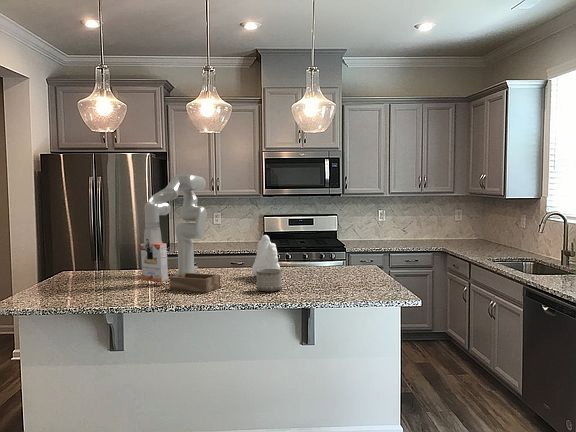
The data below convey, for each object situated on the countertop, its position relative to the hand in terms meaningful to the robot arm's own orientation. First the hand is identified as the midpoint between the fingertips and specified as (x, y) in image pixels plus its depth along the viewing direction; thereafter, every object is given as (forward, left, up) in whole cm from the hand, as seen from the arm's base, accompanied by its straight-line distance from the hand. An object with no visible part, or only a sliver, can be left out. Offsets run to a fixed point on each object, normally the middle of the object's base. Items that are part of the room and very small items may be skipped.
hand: (154, 257), depth 281 cm
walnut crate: (+3, +28, -15) cm, 32 cm away
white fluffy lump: (-36, +51, -15) cm, 65 cm away
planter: (-7, +66, -15) cm, 68 cm away
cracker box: (0, 0, -13) cm, 13 cm away
